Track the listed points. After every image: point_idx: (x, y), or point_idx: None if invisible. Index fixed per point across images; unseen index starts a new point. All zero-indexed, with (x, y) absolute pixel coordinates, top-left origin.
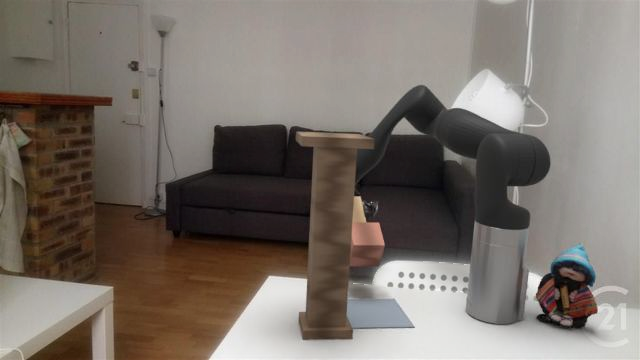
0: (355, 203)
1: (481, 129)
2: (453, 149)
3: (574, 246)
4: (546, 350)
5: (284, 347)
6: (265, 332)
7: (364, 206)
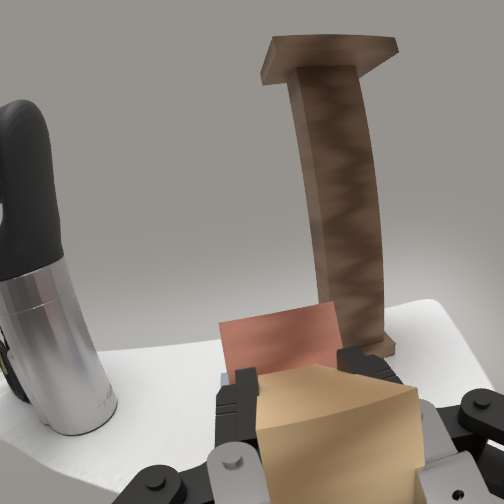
0: (316, 395)
1: None
2: None
3: None
4: (99, 355)
5: (384, 315)
6: (418, 325)
7: (234, 448)
